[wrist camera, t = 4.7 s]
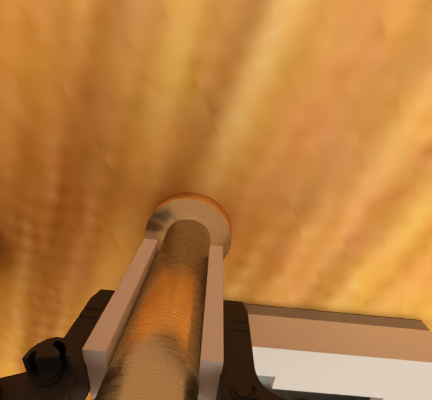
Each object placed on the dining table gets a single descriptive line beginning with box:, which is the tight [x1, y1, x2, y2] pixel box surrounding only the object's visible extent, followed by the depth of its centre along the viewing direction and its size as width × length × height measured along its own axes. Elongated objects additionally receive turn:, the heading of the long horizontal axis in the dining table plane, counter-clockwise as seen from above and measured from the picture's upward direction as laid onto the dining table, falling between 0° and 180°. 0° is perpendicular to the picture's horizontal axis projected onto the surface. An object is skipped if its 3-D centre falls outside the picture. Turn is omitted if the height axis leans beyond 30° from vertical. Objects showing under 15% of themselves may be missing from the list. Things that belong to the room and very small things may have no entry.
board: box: [244, 304, 432, 400], centre depth 21 cm, size 14×22×4 cm, turn 84°
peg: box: [94, 192, 231, 400], centre depth 10 cm, size 6×6×16 cm
